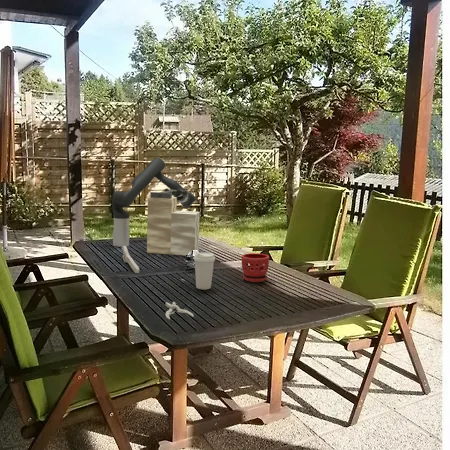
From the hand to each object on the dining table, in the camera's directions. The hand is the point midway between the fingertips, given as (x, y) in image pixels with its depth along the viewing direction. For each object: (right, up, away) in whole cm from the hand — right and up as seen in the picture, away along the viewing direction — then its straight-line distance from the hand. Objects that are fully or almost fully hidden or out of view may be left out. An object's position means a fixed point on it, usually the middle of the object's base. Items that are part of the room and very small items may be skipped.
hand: (172, 190), depth 288 cm
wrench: (-16, -43, -49) cm, 67 cm away
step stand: (+2, -37, -13) cm, 40 cm away
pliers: (+14, -54, -112) cm, 125 cm away
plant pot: (+46, -48, -64) cm, 93 cm away
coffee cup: (+23, -49, -80) cm, 97 cm away
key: (-3, -5, -13) cm, 14 cm away
